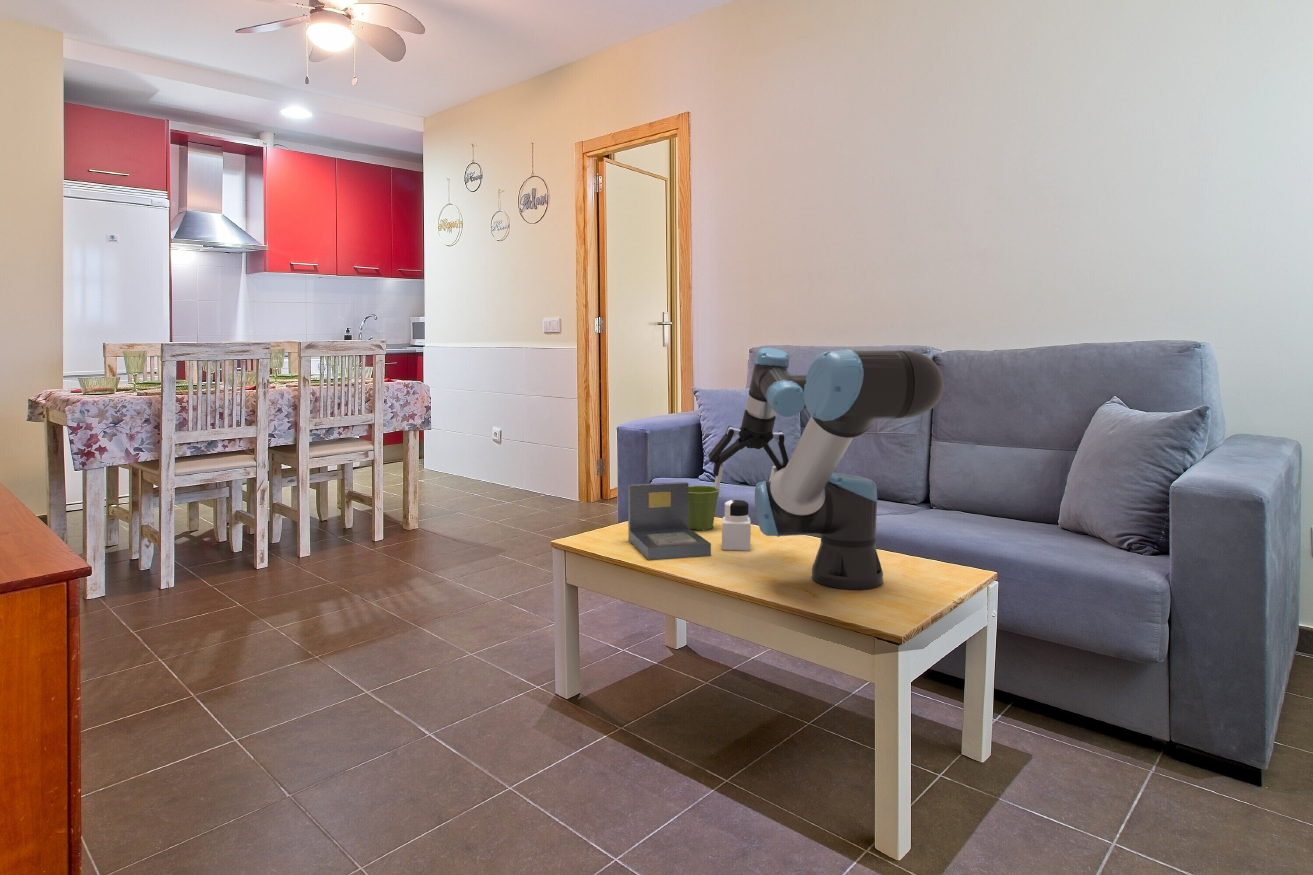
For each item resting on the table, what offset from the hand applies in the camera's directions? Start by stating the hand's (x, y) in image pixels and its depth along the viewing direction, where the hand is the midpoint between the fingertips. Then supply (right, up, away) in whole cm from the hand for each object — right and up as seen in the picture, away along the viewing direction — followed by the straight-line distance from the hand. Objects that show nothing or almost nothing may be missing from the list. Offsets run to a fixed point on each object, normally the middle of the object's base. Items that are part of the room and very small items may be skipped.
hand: (743, 489), depth 191 cm
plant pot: (-9, -13, +27) cm, 32 cm away
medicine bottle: (-1, -15, +6) cm, 17 cm away
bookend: (-19, -15, +5) cm, 25 cm away
